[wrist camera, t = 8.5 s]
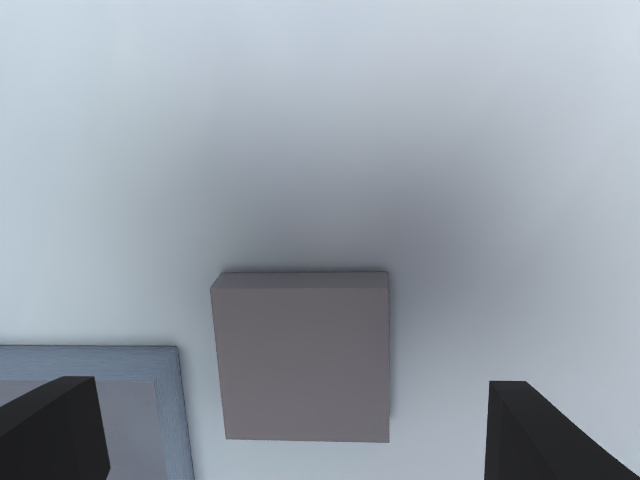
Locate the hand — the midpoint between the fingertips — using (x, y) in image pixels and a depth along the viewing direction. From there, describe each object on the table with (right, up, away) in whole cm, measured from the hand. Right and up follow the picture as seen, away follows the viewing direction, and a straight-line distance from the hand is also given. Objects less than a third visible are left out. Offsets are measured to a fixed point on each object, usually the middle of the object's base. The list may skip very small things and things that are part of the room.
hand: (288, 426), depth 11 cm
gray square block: (0, -1, +11) cm, 11 cm away
